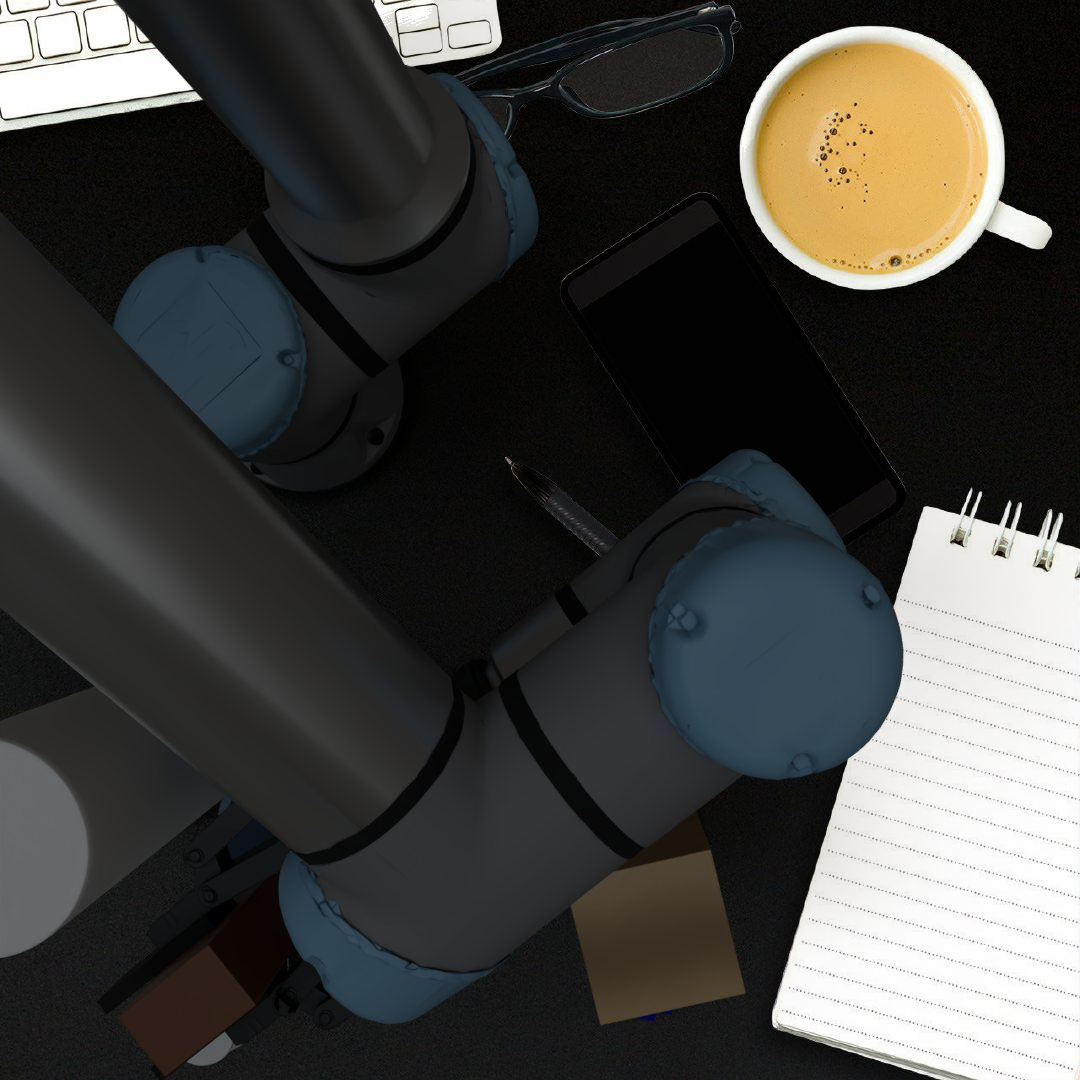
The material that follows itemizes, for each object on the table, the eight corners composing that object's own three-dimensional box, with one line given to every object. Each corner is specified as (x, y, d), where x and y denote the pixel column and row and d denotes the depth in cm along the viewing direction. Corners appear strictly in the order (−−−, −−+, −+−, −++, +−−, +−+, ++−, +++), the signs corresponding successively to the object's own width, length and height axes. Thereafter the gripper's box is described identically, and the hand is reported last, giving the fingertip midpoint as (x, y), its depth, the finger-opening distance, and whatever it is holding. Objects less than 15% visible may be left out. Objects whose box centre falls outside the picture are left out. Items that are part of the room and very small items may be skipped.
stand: (571, 760, 77) (564, 882, 52) (669, 737, 76) (710, 849, 51) (595, 857, 77) (600, 1025, 52) (693, 834, 76) (746, 994, 51)
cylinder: (244, 821, 78) (84, 969, 53) (94, 811, 79) (-135, 952, 54) (251, 668, 78) (92, 744, 53) (99, 658, 78) (-129, 729, 53)
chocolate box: (290, 850, 51) (207, 944, 40) (328, 898, 51) (256, 1005, 40) (218, 908, 51) (116, 1017, 40) (256, 955, 51) (164, 1078, 40)
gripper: (640, 829, 47) (277, 1112, 49) (433, 571, 48) (76, 861, 49) (650, 889, 40) (220, 1221, 41) (403, 582, 40) (-17, 924, 41)
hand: (143, 1025), depth 45 cm, fingers closed on chocolate box, 3 cm apart
